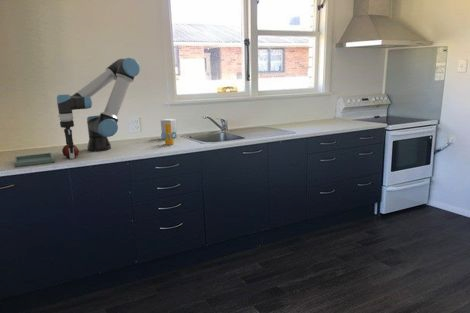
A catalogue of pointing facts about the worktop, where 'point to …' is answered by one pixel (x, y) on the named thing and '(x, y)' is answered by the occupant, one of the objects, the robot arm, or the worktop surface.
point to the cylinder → (168, 135)
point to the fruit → (66, 151)
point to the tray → (33, 160)
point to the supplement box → (173, 126)
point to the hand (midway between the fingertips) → (71, 156)
